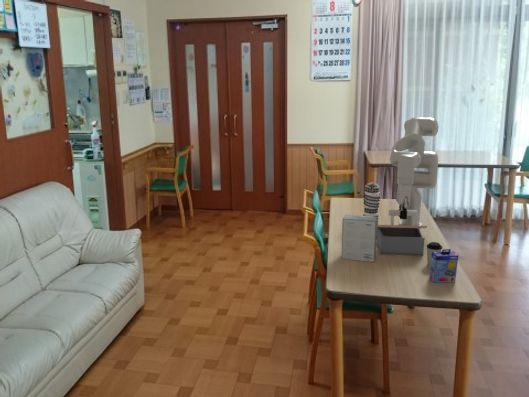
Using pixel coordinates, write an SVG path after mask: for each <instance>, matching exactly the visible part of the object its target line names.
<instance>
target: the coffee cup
mask: <svg viewBox="0 0 529 397" xmlns="http://www.w3.org/2000/svg"><path fill="white" fill-rule="evenodd" d="M442 250H443V246H442V245H441V244H440V243H439V242H437V241H431V242H429V243H427V245H426V255H427V256H426V259H427V266H429V267H430V265H431V255H432V252H435V251H441V252H442Z"/></svg>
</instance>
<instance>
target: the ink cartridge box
mask: <svg viewBox="0 0 529 397" xmlns="http://www.w3.org/2000/svg"><path fill="white" fill-rule="evenodd" d="M458 262H459V255H458V253H456V252H455V251H453V250H452V249H451V248H449V249H447V248H446V249H444V248H442V250H441V251H435V252H432V255H431V265H430V266H429V279H430V280H431V281H432V282H433V283H455V282H456V277H457V269H458Z"/></svg>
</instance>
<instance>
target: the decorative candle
mask: <svg viewBox="0 0 529 397" xmlns="http://www.w3.org/2000/svg"><path fill="white" fill-rule="evenodd" d="M364 187H365V188H364V192H363V208H364V209H363V210H364V211H363V214H362V216H372V217H377V225H379V208H380V206H379V205H380V201H381V200H380V199H381V197H380V195H381V192H380V187H381V186H380V185H379V184H378V183H377V182H367V184H366V185H364Z"/></svg>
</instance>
